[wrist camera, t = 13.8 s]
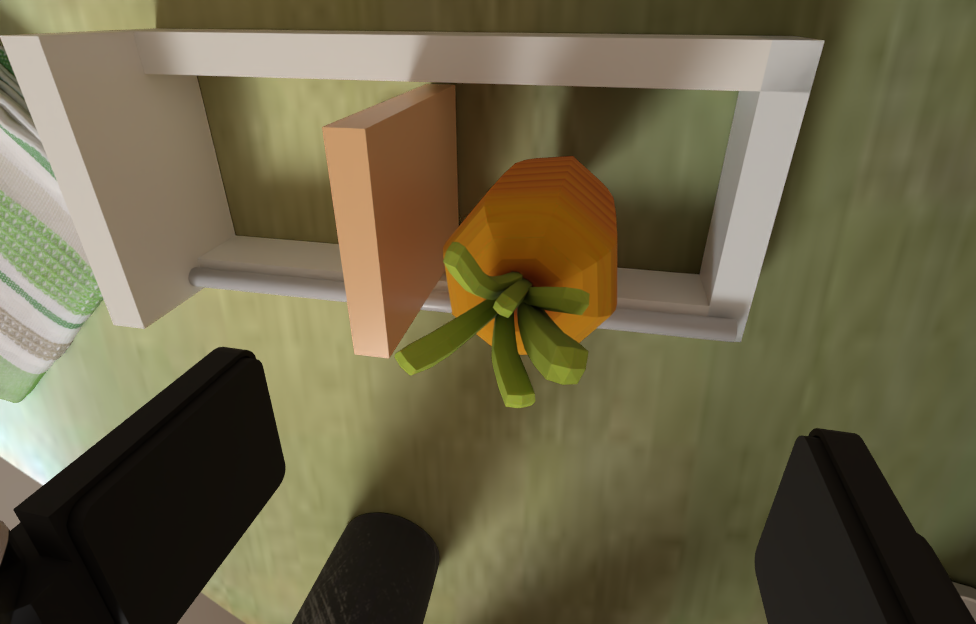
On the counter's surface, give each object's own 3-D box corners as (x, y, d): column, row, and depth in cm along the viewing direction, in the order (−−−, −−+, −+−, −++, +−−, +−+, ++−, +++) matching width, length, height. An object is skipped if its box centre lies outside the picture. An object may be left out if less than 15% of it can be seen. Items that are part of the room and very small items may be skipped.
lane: (796, 35, 19) (879, 49, 13) (727, 307, 25) (764, 403, 19) (155, 28, 24) (-1, 35, 18) (216, 259, 29) (113, 325, 23)
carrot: (493, 212, 25) (353, 426, 12) (527, 102, 22) (395, 220, 9) (597, 249, 24) (569, 509, 11) (643, 142, 22) (674, 321, 9)
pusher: (455, 84, 22) (365, 129, 14) (459, 248, 26) (389, 358, 18) (358, 81, 23) (220, 122, 15) (375, 241, 26) (271, 344, 18)
